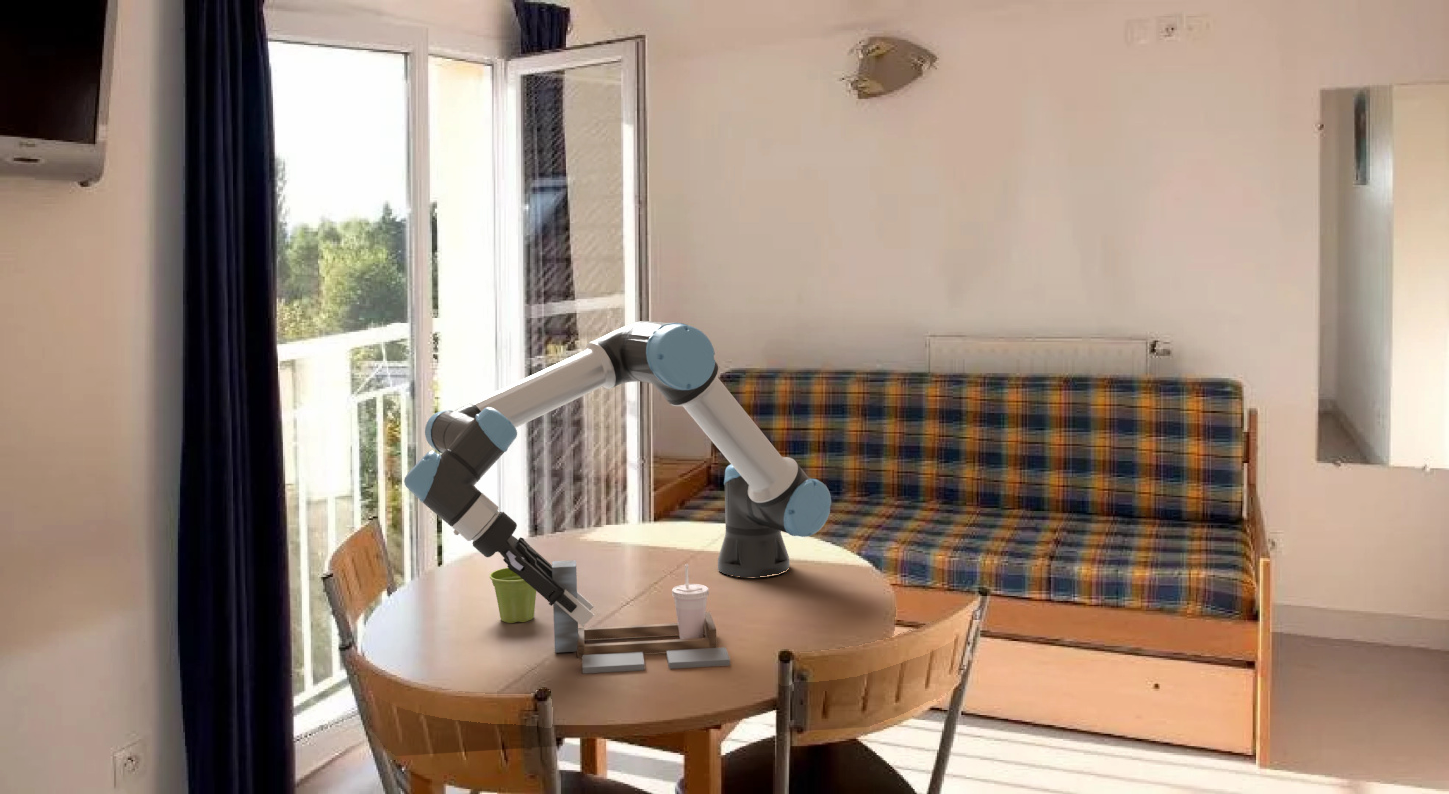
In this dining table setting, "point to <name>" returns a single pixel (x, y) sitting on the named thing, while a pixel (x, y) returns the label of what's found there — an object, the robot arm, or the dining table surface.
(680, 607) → the smoothie
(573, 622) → the sled
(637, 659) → the broken strip
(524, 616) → the plant pot
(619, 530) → the dining table surface
